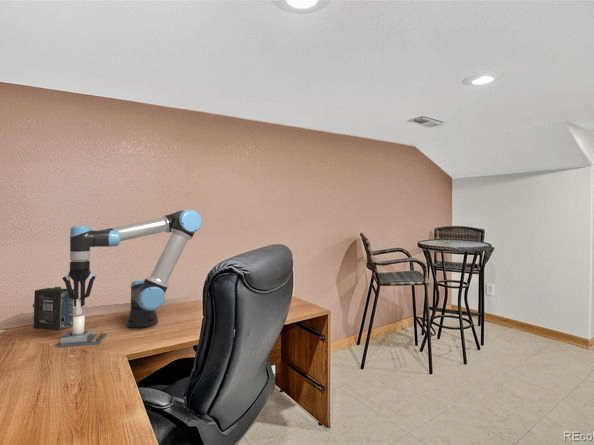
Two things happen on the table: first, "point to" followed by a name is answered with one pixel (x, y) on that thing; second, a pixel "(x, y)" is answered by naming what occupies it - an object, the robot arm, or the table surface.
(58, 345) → the jig
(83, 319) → the white rounded cylinder
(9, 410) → the table surface
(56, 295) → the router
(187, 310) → the table surface
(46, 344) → the table surface
